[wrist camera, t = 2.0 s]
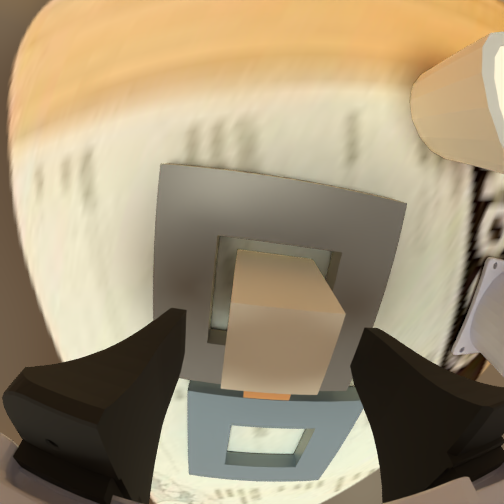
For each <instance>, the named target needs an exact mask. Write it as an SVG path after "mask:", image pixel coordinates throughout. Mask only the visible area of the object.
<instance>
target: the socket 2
mask: <svg viewBox="0 0 504 504" xmlns="http://www.w3.org/2000/svg"><path fill="white" fill-rule="evenodd" d="M362 410H363V406H362V403H361V401H360V398H359V396H358V393H357V391H356V388H355V387H348V389H347V391H319V392H318V394H317V395H297V394H291V396H290V399H289V400H270V399H256V398H245V397H243V391H239V390H230V389H221V384H215V383H207V382H201V381H194V380H190V383H189V387H188V463H189V474H190V475H197V476H204V477H212V478H221V479H231V480H245V481H311V480H319V478H320V477H321V475H322V474H323V473H324V471H325V470H326V468H327V467H328V465H329V464H330V462H331V461H332V459H333V458H334V456H335V455H336V453H337V452H338V450H339V449H340V447H341V446H342V444H343V442H344V441H345V439H346V438H347V436H348V434H349V433H350V431H351V429H352V427H353V426H354V424H355V422H356V421H357V419H358V417H359V415H360V413H361V412H362ZM231 425H236V426H248V427H263V428H289V429H305V432H304V434H303V436H302V438H301V440H300V442H299V444H298V447H297V449H296V451H295V453H294V454H255V453H240V452H229V451H227V447H228V441H229V435H230V429H231Z"/></svg>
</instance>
